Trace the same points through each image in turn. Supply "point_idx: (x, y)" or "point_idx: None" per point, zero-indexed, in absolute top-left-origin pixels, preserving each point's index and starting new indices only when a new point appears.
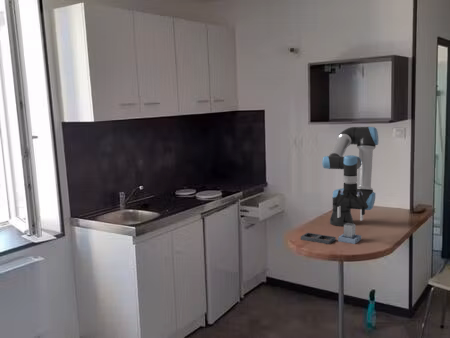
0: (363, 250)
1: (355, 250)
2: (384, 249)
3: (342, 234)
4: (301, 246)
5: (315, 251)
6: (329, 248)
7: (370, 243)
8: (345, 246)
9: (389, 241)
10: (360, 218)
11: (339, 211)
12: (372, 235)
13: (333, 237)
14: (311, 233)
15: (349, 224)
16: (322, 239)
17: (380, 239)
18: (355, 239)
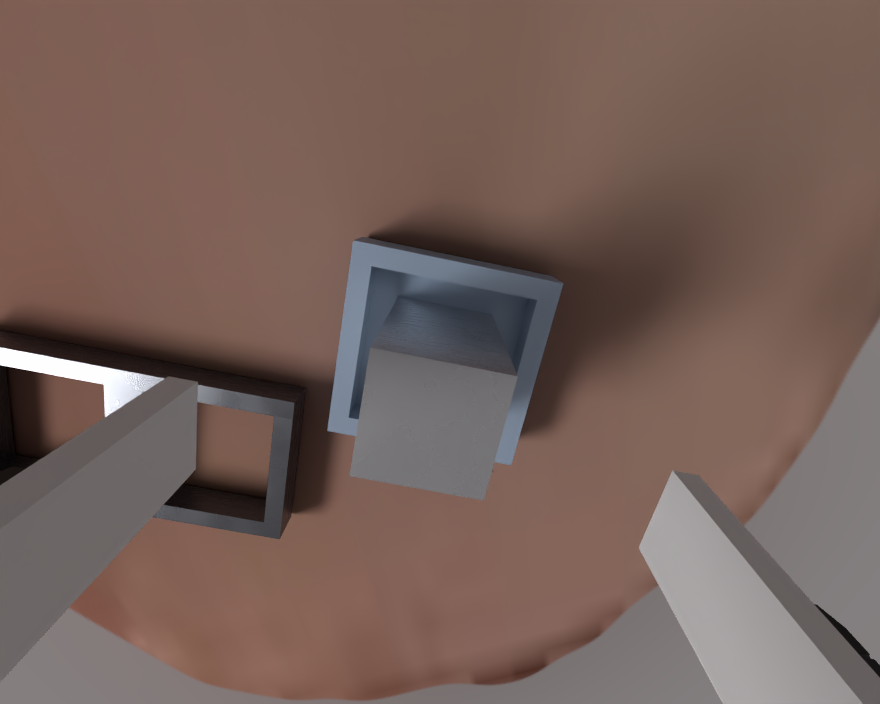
0: (590, 565)
1: (528, 581)
2: (766, 494)
3: (343, 317)
4: (108, 612)
5: (253, 675)
6: (324, 595)
7: (648, 365)
8: (434, 516)
9: (858, 228)
10: (664, 585)
11: (101, 523)
12: (678, 19)
13: (279, 425)
14: (3, 358)
15: (428, 434)
16: (204, 516)
17: (764, 180)
18: (514, 452)
